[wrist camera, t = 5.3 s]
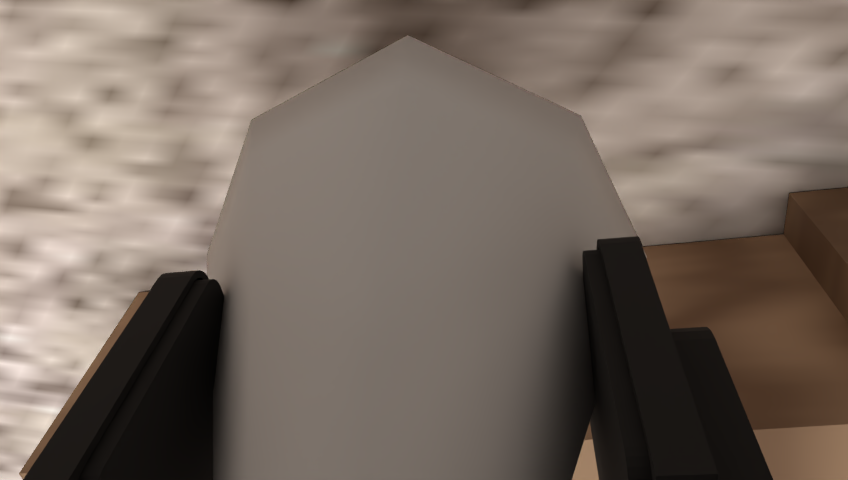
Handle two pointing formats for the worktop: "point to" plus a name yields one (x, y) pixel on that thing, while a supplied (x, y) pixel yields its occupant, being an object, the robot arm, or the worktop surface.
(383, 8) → the worktop surface
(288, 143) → the flask
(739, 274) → the thick wooden plank
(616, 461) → the robot arm
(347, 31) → the worktop surface
